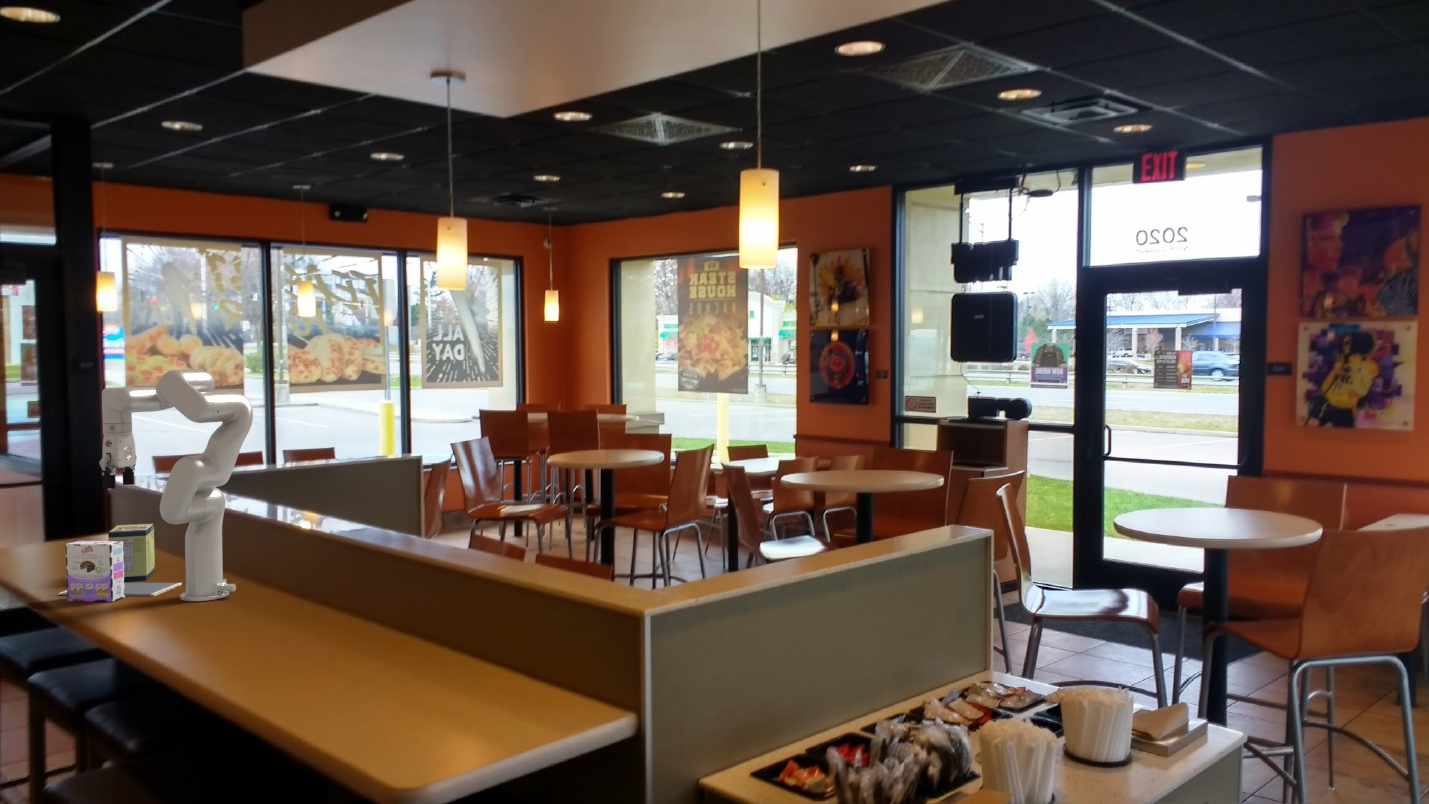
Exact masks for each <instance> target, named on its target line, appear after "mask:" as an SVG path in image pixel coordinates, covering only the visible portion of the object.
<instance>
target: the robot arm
mask: <svg viewBox="0 0 1429 804" xmlns="http://www.w3.org/2000/svg"><path fill="white" fill-rule="evenodd" d="M214 378H215V377H213V375H212V374H211V373H209V372H207V371H205V370H203V369H171V370H167V371H166V372H165V373H164V374H163V375H162V376H161V377H160V379H159V380H158V381H157V382H156V383H155V384H156V385H155V386H126V387H125V386H124V387H106V388H104V389H103V390H102V391H101V407H102V414H101V415H102V435H103V439H102V458H101V459H100V461H99V467H100V470H101V472H102V473H101V475H102V476H103V488H104V489H105V490H106V489H107V490H108V489H111V490H113V489H116V488H117V485H116V484H117V483H116V474H115V472H116V470H117V468H118V469H119V468H120V469H123V471H122V472H121V473H122V485H123V486H132V485H133V486H134V485H135V471H136V468H135V467H136V464H137V455H136V445H135V444H136V443H135V438H134V435H133V434H134V433H133V421H132V419H133V417H132V416H133V415H132V414H133V413H144V412H145V413H148V412H149V413H150V412H159V411H160V412H161V411H164V410H168V409H172V408H175V410H177V411H178V412H179V413H180V414H182V415H183V416H184V417H185V418H186V420H189V421H191V422H193V423H197V424H207V423H221V424H220V425H219V426H218V427H217V428H216V430H214V432H213V433H212V434H211V435H210V437H209V439H208V442H207V444H206V447H205V449H204V451H203V452H202V453H200V454H195V455H187V456H184V457H181V458H180V459H178V460H177V461H176V462H175V463H174V465H173V467H172V468H171V470H170V473H169V476H168V478H167V481H166V484H165V487H164V489H163V493H162V496H161V499H160V503H159V512H160V516H161V518H162V520H163V521H165V522H166V523H167V524H171V525H182V524H187V523H189V524H188V527H187V529H186V532H185V536H184V555H185V557H184V558H185V559H184V561H185V591H183V592H182V593H180V594H179V599H180V600H181V601H185V602H205V601H213V600H220V599H222V598H226V597H227V596H229V595H230V592H235V591H236V590H237V586H236V583H228V582H227V578H224V574H223V573H224V572H223V567H224V566H223V563H224V562H223V522H224V521H223V520H224V514H225V510H226V497H225V494H224V493H223V491H222V490H220V488H217V487H222V486H223V485H225V484H226V483H228V481H229V480H230V478H231V476H232V473H233V471H234V467H235V464H236V463H237V460H238V456H239V454H240V451H241V448H242V446H243V444H244V441H245V440H246V438H247V436H248V435H249V432H250V430H251V427H252V424H253V420H254V411H253V407H252V404H251V401H250V400H249V398H248V397H247V396H245V395H244V394H242V393H240V392H237V391H231V390H230V391H229V390H228V391H227V390H225V391H221V390H220V391H214V390H215V386H216V381H215V379H214Z"/></svg>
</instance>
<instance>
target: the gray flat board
mask: <svg viewBox="0 0 1429 804" xmlns="http://www.w3.org/2000/svg"><path fill="white" fill-rule="evenodd" d="M182 585H183V582H124V586H125V597H156V596H158V595H161V594H163V593H166V592H168V591H171V590H173V589H176V588H177V586H178V587H181V586H182ZM170 589H171V590H170ZM58 595H67V589H66V590H64V591H61V592H57V596H58Z"/></svg>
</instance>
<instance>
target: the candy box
mask: <svg viewBox="0 0 1429 804" xmlns="http://www.w3.org/2000/svg"><path fill="white" fill-rule="evenodd" d="M64 545H65V568H66V569H65V570H66V571H65V572H66V574H65V575H66V590H67V596H66V597H67V598H66V601H67V602H93V601H104V602H105V603H106V602H107V603H108V602H109V603H110V602H116V601H119V600H122V599H125V597H126V596H125V586H124V583H125V582H124V548H123V541H108V540H77V541H72V542H68V543H66V544H64Z"/></svg>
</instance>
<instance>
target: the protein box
mask: <svg viewBox="0 0 1429 804" xmlns="http://www.w3.org/2000/svg"><path fill="white" fill-rule="evenodd" d="M107 536H108V538H107V539H108V540H107V541H123V548H124V581H125V582H134V581H135V582H137V581H138V582H139V581H147V580H148V579H149V578H150V577H151V576H152V575H153V574H154V573H155V571H156V570H155V567H156V566H155V565H156V564H155V561H156V560H155V525H154V523H138V524H137V523H136V524H135V523H134V524H118V525H116V526H115V527H114V528H112V529H111V530H109V531H108V533H107Z"/></svg>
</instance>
